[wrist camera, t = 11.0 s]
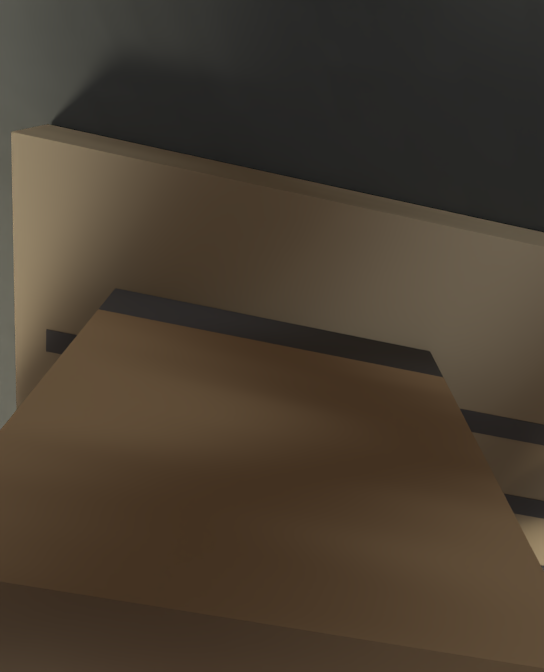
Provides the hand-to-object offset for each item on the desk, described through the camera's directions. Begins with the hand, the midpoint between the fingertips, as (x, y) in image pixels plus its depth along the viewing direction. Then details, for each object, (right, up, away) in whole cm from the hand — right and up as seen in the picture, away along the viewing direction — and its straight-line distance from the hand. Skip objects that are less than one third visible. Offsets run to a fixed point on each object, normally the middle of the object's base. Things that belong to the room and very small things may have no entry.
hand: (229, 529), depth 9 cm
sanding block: (0, 0, +1) cm, 1 cm away
